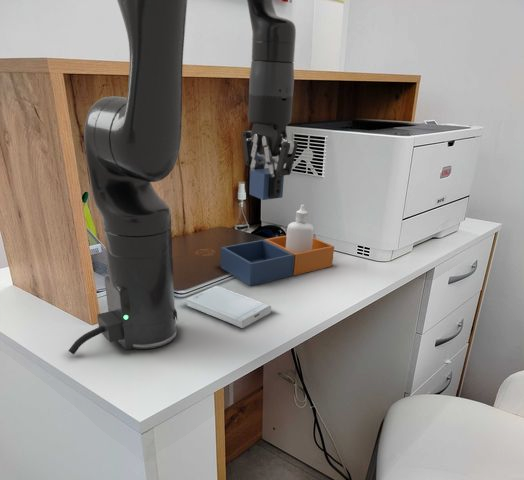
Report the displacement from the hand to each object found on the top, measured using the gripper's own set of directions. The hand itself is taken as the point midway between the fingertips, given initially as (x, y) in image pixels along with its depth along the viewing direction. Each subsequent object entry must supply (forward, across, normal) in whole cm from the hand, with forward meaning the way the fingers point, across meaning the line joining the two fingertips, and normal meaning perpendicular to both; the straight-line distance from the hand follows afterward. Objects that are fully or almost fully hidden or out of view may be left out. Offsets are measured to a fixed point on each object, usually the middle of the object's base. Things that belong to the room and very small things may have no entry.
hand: (265, 194), depth 93 cm
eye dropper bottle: (+16, -2, +11) cm, 20 cm away
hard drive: (+16, +10, -14) cm, 24 cm away
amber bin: (+16, -2, +11) cm, 20 cm away
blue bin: (+16, -2, 0) cm, 16 cm away
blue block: (0, 0, 0) cm, 0 cm away
